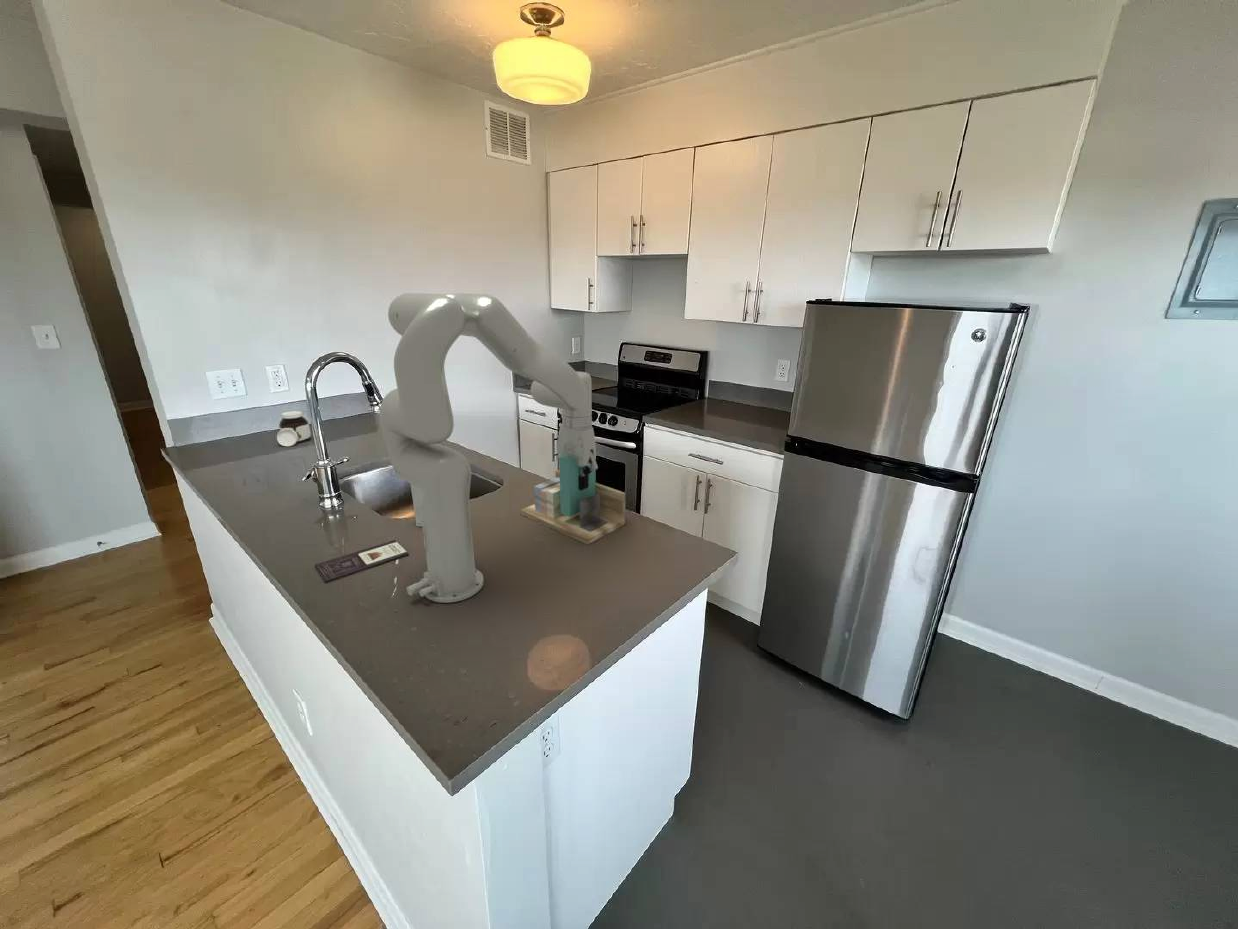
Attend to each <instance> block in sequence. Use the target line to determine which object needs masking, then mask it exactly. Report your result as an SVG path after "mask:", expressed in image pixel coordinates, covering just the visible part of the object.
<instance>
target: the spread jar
mask: <svg viewBox="0 0 1238 929" xmlns="http://www.w3.org/2000/svg"><path fill="white" fill-rule="evenodd" d="M281 417H282V419H281V420H280V421H279V424H278V426H279V431H278V432H277V434H276V439H277V442H278V443H279V445H281V446H284V447H291V446H294V445H296V444H302V443H305V442H308V440H309V439H310V438H311V435H312V434H311V428H310V424H309V421H308V419H306V418H305V417H304V416H303V412H302V411H299V410H293V411H291V410H290V411H286V412H283V413H281Z"/></svg>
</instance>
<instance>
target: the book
mask: <svg viewBox="0 0 1238 929" xmlns="http://www.w3.org/2000/svg"><path fill="white" fill-rule="evenodd" d="M558 460H559V462H558V463H559V464H558V466H559V470H560V502H561V514H564V515H566V516H569V517H571V516H574V515H576V514H578V513H580V501H582V500H584V499H586V498H589V497H591V496H593V495H596V483H597V481H596V476H597V475H596V470H597V469H595V470H593V471H592V472H591V473H590V474H589V487H588V488H586V489H584V490H579V476H580V469H579V467H578V466H576V465H575V458H572V457H570V456H566V455H564V456H561V457H559V458H558ZM585 469H586V468H585V467H584V470H585Z"/></svg>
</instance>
